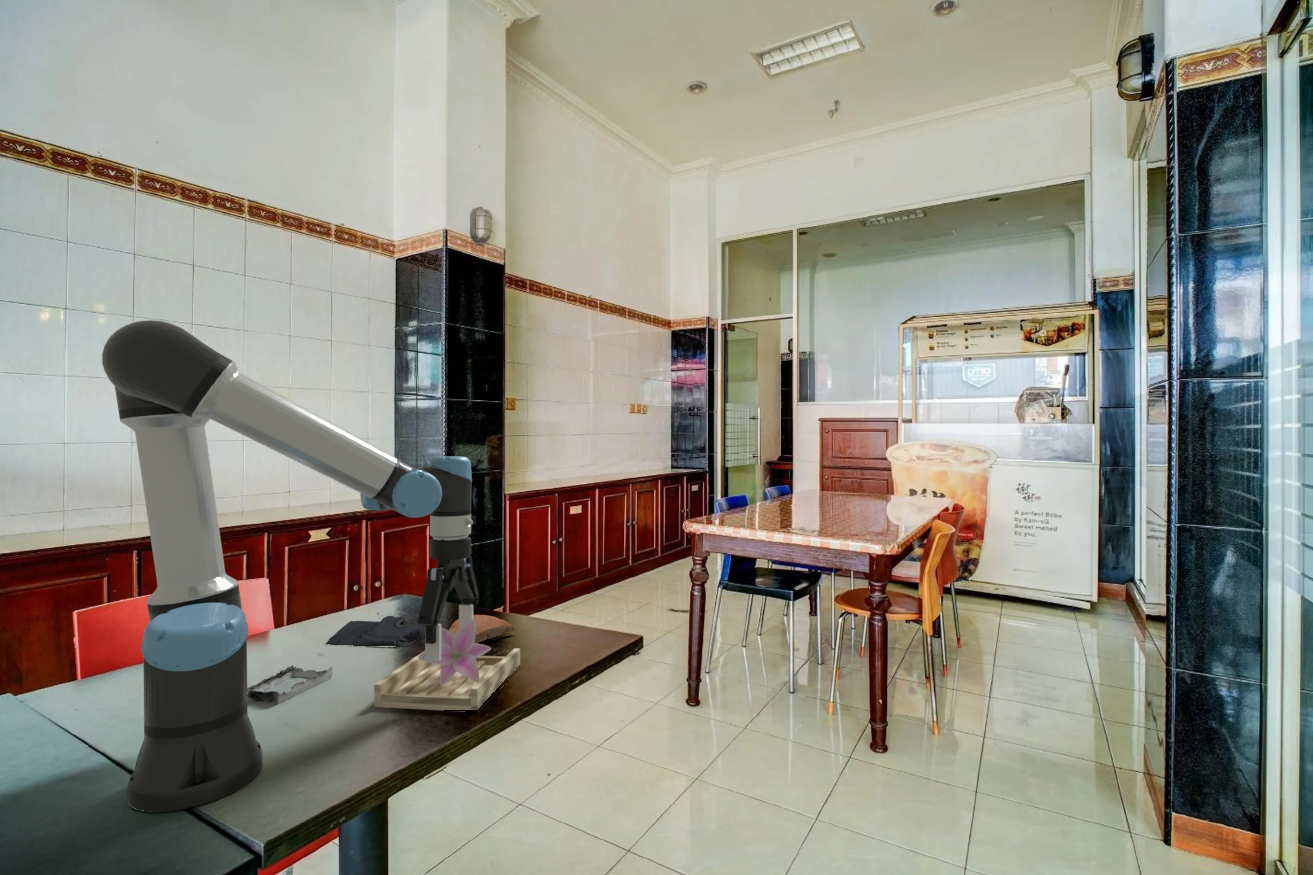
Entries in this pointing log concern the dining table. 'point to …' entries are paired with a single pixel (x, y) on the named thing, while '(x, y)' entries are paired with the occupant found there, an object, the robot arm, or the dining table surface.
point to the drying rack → (423, 690)
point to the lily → (459, 653)
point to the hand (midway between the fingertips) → (450, 648)
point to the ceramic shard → (486, 627)
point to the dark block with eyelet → (379, 632)
